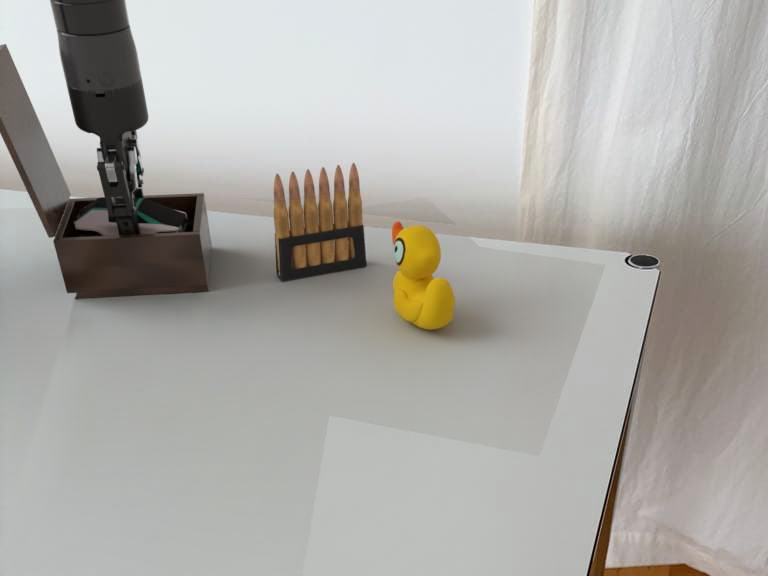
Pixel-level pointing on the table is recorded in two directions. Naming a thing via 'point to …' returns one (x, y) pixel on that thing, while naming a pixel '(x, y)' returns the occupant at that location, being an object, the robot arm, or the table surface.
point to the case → (136, 254)
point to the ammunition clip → (318, 227)
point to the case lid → (30, 147)
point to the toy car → (148, 213)
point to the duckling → (420, 278)
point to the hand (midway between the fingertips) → (135, 233)
